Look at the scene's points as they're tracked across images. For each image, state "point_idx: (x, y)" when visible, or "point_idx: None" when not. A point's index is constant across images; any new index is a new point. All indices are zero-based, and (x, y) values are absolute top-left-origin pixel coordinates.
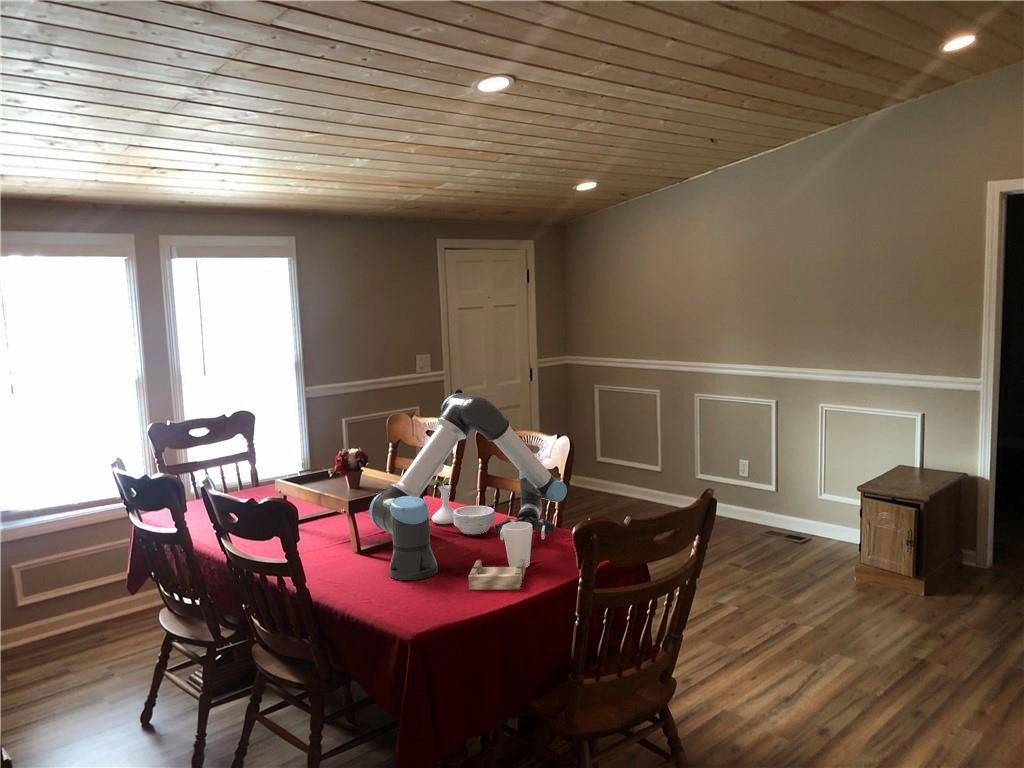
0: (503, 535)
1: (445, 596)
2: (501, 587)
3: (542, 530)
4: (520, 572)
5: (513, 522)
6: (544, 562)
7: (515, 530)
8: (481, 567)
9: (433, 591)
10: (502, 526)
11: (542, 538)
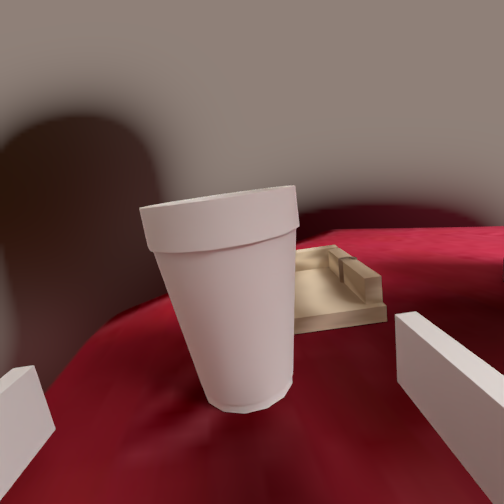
0: (427, 394)
1: (365, 258)
2: None
3: (3, 384)
4: None
5: (245, 194)
6: (124, 427)
7: (223, 195)
8: (363, 298)
9: (407, 260)
10: (292, 185)
11: (45, 422)
